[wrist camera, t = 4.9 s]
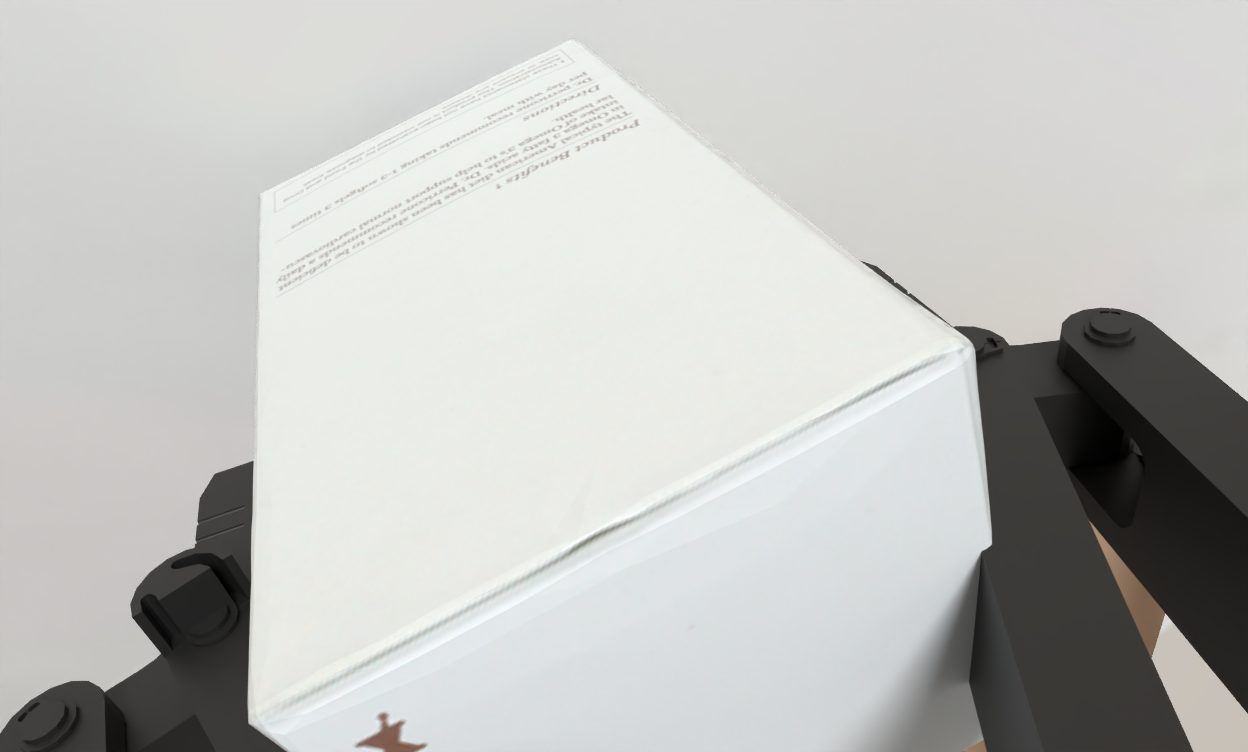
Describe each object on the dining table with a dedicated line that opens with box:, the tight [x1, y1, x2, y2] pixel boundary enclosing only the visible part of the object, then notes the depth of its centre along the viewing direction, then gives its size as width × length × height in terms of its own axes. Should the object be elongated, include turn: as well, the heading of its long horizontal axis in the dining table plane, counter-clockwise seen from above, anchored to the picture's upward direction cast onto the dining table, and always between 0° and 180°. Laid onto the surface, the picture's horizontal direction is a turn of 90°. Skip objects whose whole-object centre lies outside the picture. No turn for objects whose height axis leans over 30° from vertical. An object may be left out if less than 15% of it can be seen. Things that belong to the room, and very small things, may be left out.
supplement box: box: [248, 39, 992, 752], centre depth 15 cm, size 7×7×13 cm
